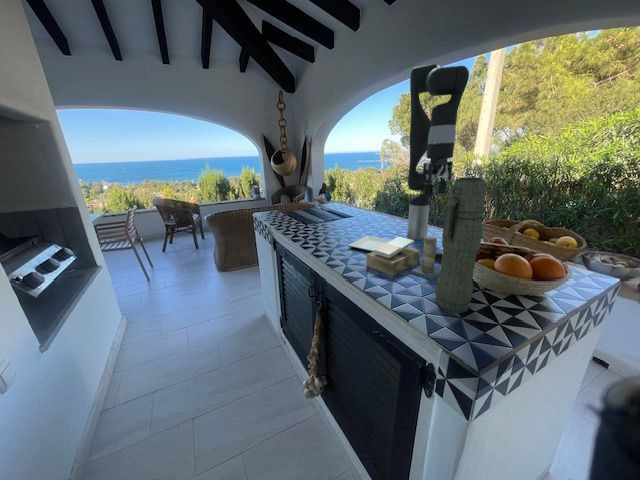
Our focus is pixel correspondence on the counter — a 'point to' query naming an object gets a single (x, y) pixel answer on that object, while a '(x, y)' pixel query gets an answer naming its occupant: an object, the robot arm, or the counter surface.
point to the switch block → (394, 261)
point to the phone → (438, 258)
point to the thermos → (460, 244)
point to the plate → (369, 243)
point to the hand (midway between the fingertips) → (435, 195)
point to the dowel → (429, 254)
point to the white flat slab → (393, 247)
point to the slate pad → (426, 275)
